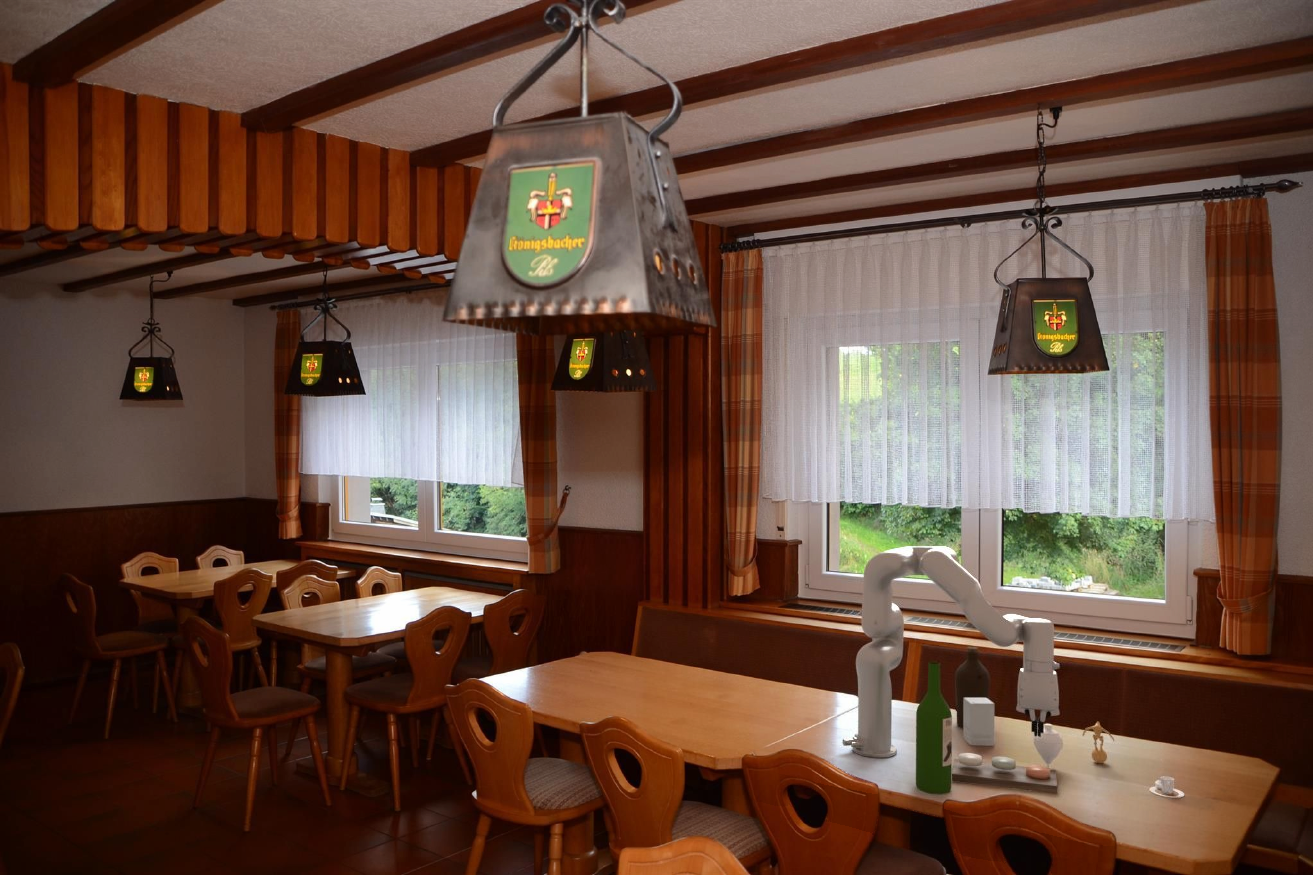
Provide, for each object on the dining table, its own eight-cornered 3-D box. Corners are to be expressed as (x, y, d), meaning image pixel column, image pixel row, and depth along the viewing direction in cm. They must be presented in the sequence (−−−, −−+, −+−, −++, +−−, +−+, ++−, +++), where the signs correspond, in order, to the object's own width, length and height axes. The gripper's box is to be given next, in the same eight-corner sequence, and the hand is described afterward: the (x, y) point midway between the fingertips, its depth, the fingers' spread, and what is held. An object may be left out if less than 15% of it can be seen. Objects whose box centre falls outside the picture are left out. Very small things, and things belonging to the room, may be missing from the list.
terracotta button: (1035, 779, 251) (1035, 773, 251) (1020, 771, 257) (1020, 765, 257) (1055, 777, 253) (1055, 771, 253) (1040, 770, 259) (1040, 764, 259)
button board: (1057, 793, 247) (1057, 786, 247) (951, 781, 256) (951, 773, 256) (1054, 777, 259) (1054, 770, 260) (954, 765, 268) (954, 758, 268)
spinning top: (1033, 770, 265) (1033, 726, 265) (1032, 761, 273) (1033, 719, 273) (1063, 773, 263) (1064, 729, 263) (1062, 764, 270) (1062, 722, 270)
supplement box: (995, 746, 286) (995, 703, 287) (970, 745, 287) (970, 703, 287) (987, 738, 294) (987, 697, 294) (962, 738, 294) (962, 696, 294)
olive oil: (996, 727, 306) (997, 648, 306) (976, 732, 299) (977, 652, 299) (967, 719, 314) (968, 642, 314) (947, 724, 308) (948, 646, 308)
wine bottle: (946, 796, 245) (946, 668, 245) (911, 789, 249) (912, 664, 250) (955, 786, 252) (956, 662, 252) (921, 779, 257) (922, 657, 257)
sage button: (1001, 770, 254) (1001, 764, 254) (987, 763, 260) (987, 757, 260) (1020, 768, 256) (1020, 762, 256) (1006, 761, 262) (1006, 755, 262)
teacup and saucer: (1154, 785, 255) (1154, 769, 255) (1187, 792, 250) (1188, 776, 250) (1146, 794, 249) (1146, 778, 249) (1180, 801, 244) (1180, 785, 244)
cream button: (967, 766, 257) (967, 760, 257) (954, 759, 263) (954, 753, 263) (986, 764, 259) (986, 759, 259) (973, 757, 264) (973, 752, 264)
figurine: (1116, 763, 271) (1116, 721, 271) (1112, 769, 266) (1112, 726, 266) (1085, 758, 276) (1085, 716, 276) (1080, 763, 271) (1080, 721, 271)
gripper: (1067, 665, 256) (1067, 734, 256) (1008, 660, 261) (1007, 728, 261) (1069, 671, 249) (1068, 742, 249) (1008, 666, 254) (1007, 735, 254)
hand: (1037, 735), depth 255 cm, fingers closed
